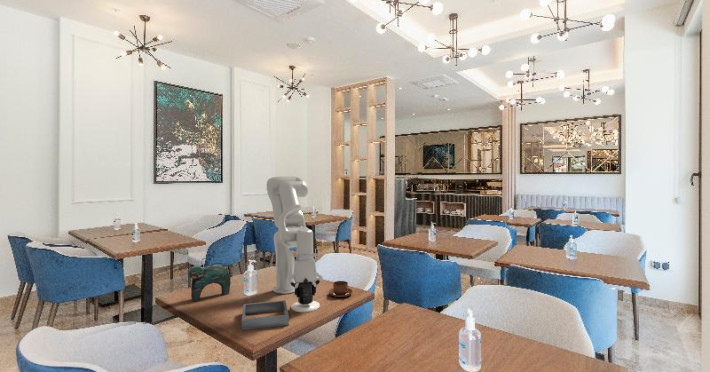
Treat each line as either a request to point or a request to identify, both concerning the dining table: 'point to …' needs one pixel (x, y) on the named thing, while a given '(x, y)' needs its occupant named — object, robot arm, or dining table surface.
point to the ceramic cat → (208, 278)
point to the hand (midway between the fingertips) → (305, 295)
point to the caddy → (264, 321)
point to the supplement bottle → (305, 292)
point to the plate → (305, 307)
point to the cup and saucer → (340, 289)
